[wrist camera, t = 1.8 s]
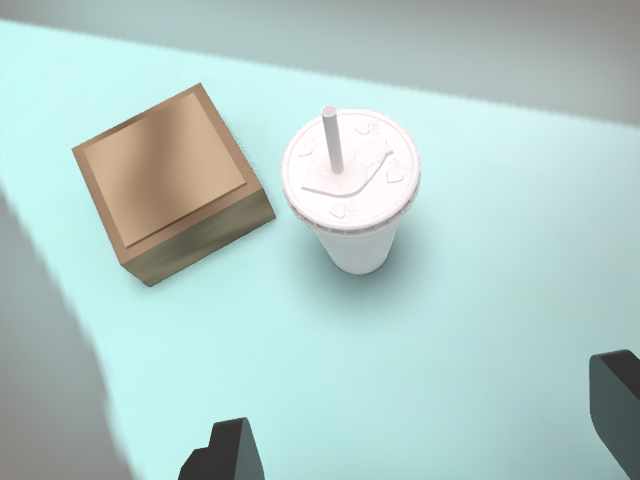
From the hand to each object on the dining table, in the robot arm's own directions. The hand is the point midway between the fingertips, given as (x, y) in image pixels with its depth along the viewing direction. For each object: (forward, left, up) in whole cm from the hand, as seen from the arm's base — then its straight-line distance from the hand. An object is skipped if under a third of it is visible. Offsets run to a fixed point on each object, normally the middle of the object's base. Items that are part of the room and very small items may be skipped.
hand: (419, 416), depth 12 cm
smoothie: (-4, -11, -17) cm, 21 cm away
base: (+4, -20, -17) cm, 27 cm away
